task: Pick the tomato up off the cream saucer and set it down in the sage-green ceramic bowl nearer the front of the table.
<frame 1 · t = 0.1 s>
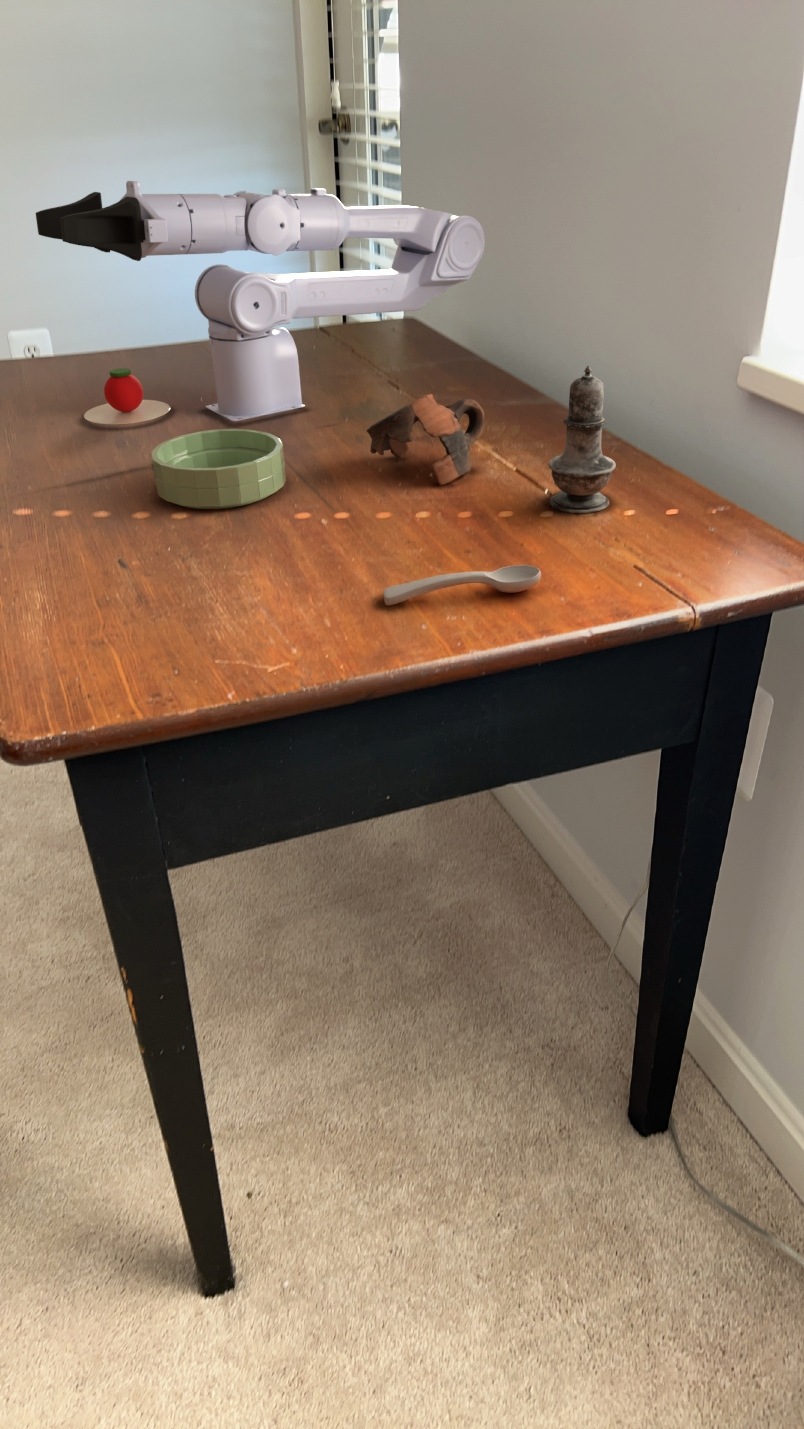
hand: (49, 226, 99), 22 cm above the table, tool horizontal, fingers open, 7 cm apart
tomato: (127, 411, 119), point 1 cm above the table, touching saucer
spoon: (462, 597, 76), on the table
brown irregular piece: (431, 470, 100), on the table
saucer: (128, 416, 119), on the table
bowl: (222, 489, 97), on the table
salt shaker: (579, 504, 91), on the table
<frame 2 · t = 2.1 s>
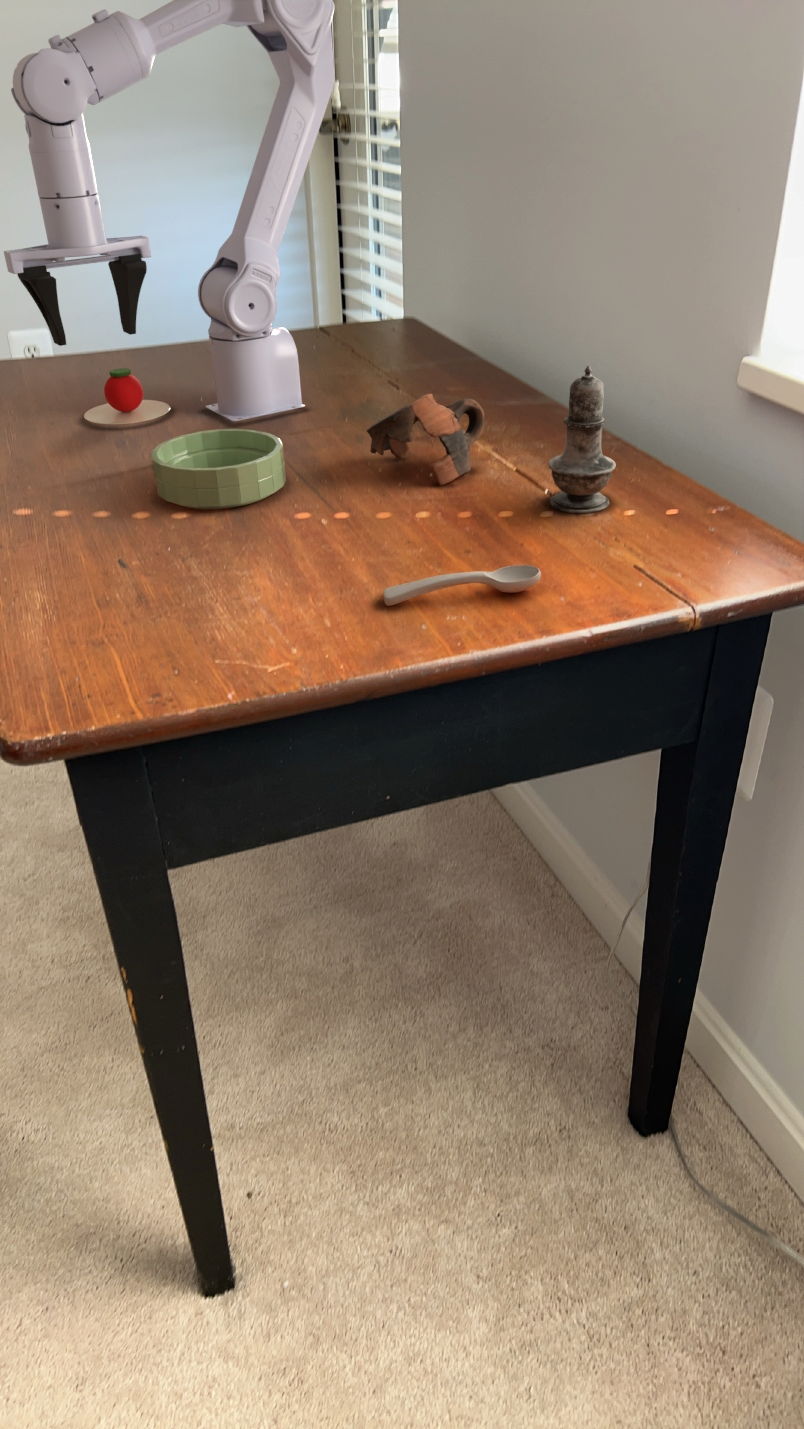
hand: (95, 338, 108), 10 cm above the table, tool pointing down, fingers open, 7 cm apart
nothing on the table moved.
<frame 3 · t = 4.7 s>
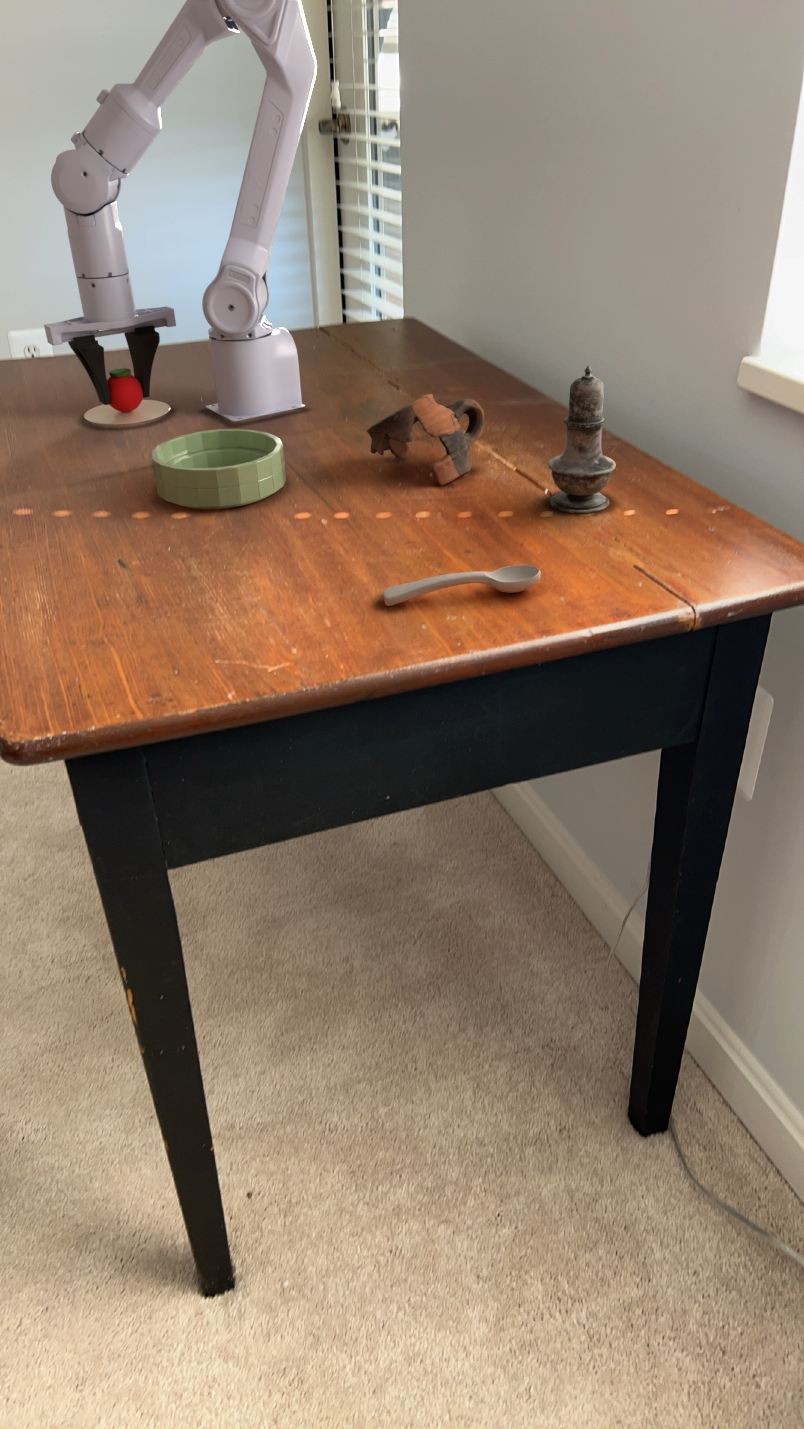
hand: (125, 399, 118), 2 cm above the table, tool pointing down, fingers closed on tomato, 4 cm apart
tomato: (127, 411, 119), point 1 cm above the table, touching gripper, saucer
everything else where it was.
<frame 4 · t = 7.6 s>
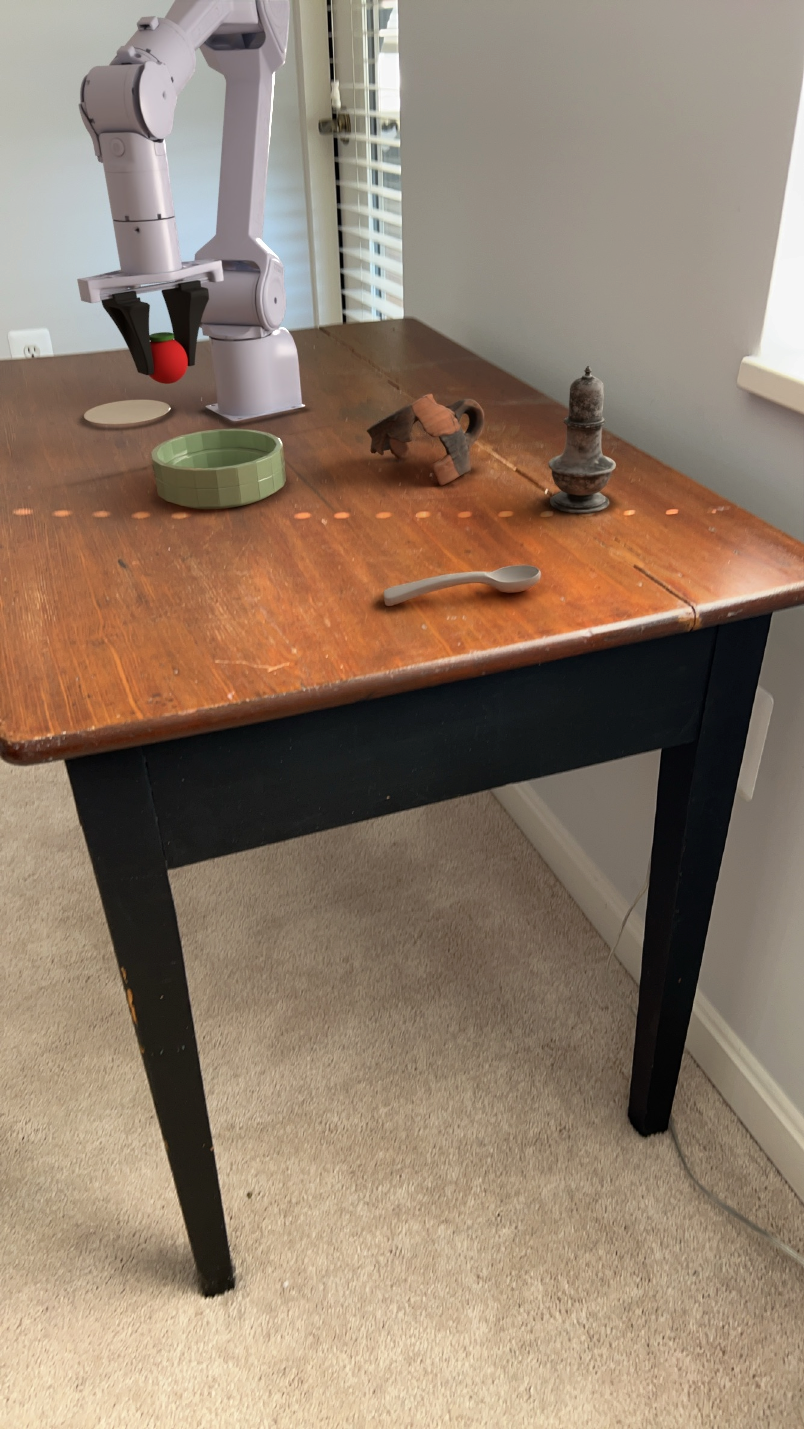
hand: (166, 368, 101), 9 cm above the table, tool pointing down, fingers closed on tomato, 4 cm apart
tomato: (168, 382, 102), point 8 cm above the table, touching gripper
everything else where it was.
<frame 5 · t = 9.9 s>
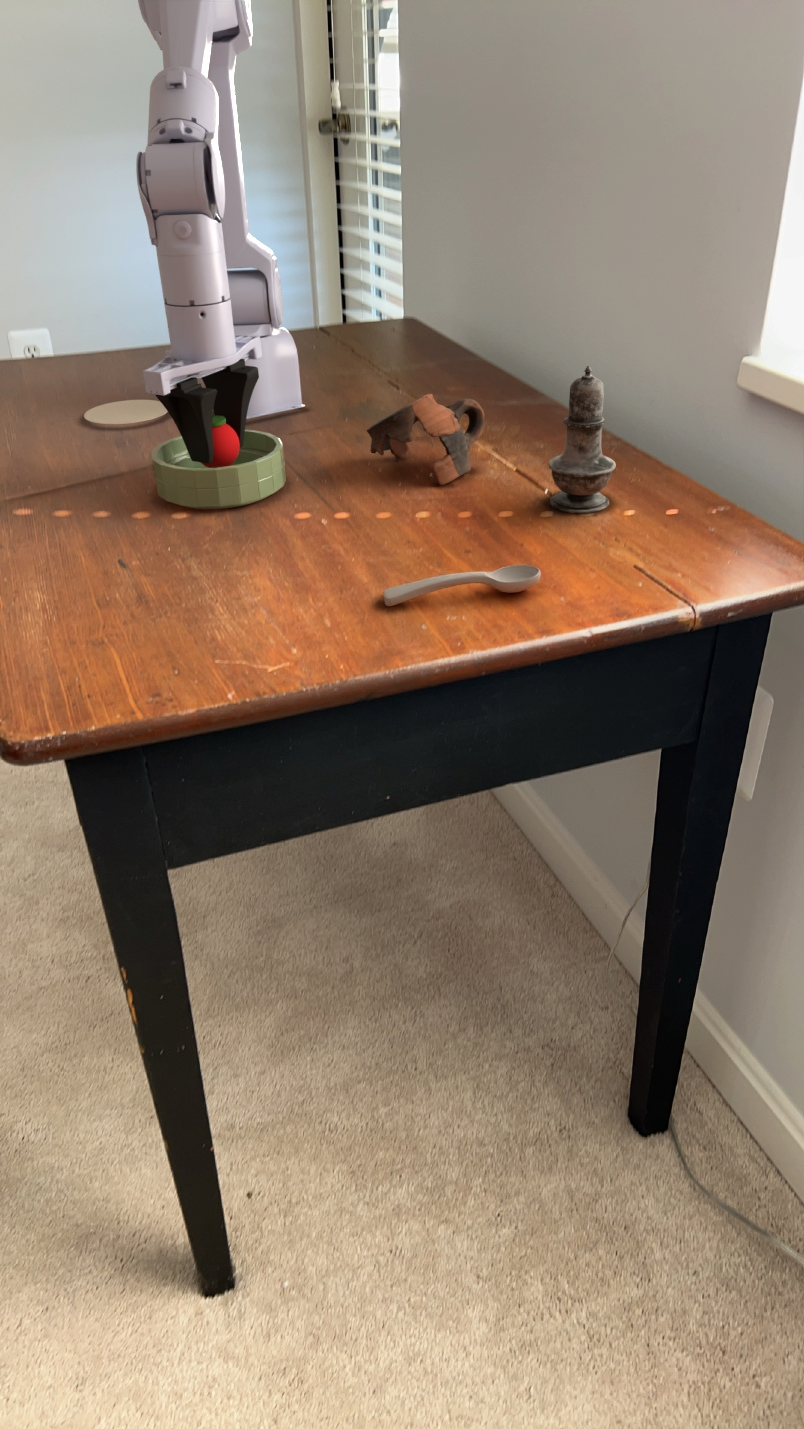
hand: (217, 453, 95), 3 cm above the table, tool pointing down, fingers closed on tomato, 4 cm apart
tomato: (219, 467, 96), point 2 cm above the table, touching gripper
everything else where it was.
when the fingers open (2 cm above the table, at t = 10.8 s): tomato stays where it is and tips over, resting on bowl.
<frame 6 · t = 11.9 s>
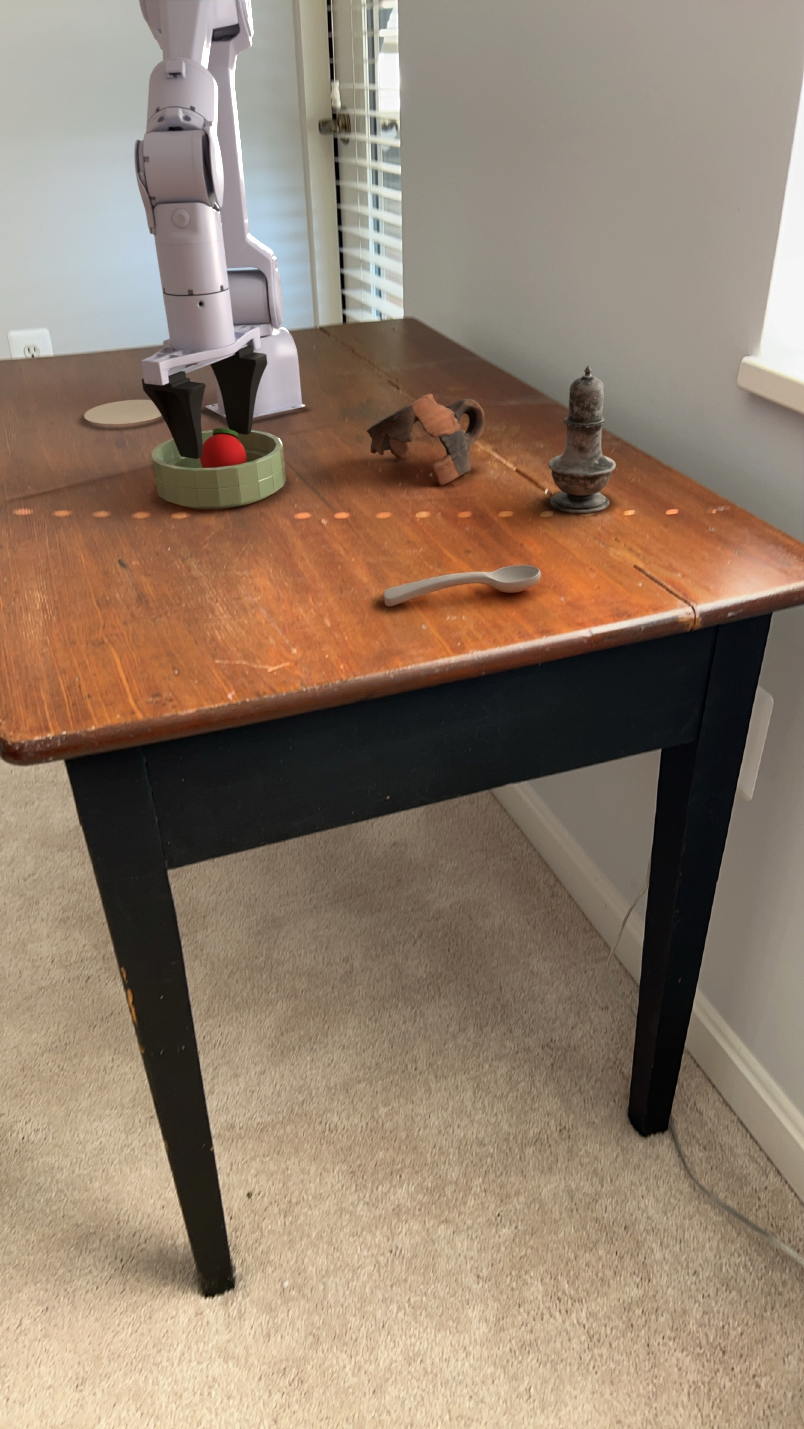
hand: (216, 444, 95), 4 cm above the table, tool pointing down, fingers open, 7 cm apart
tomato: (220, 480, 97), point 1 cm above the table, tilted 34°, touching bowl
everything else where it was.
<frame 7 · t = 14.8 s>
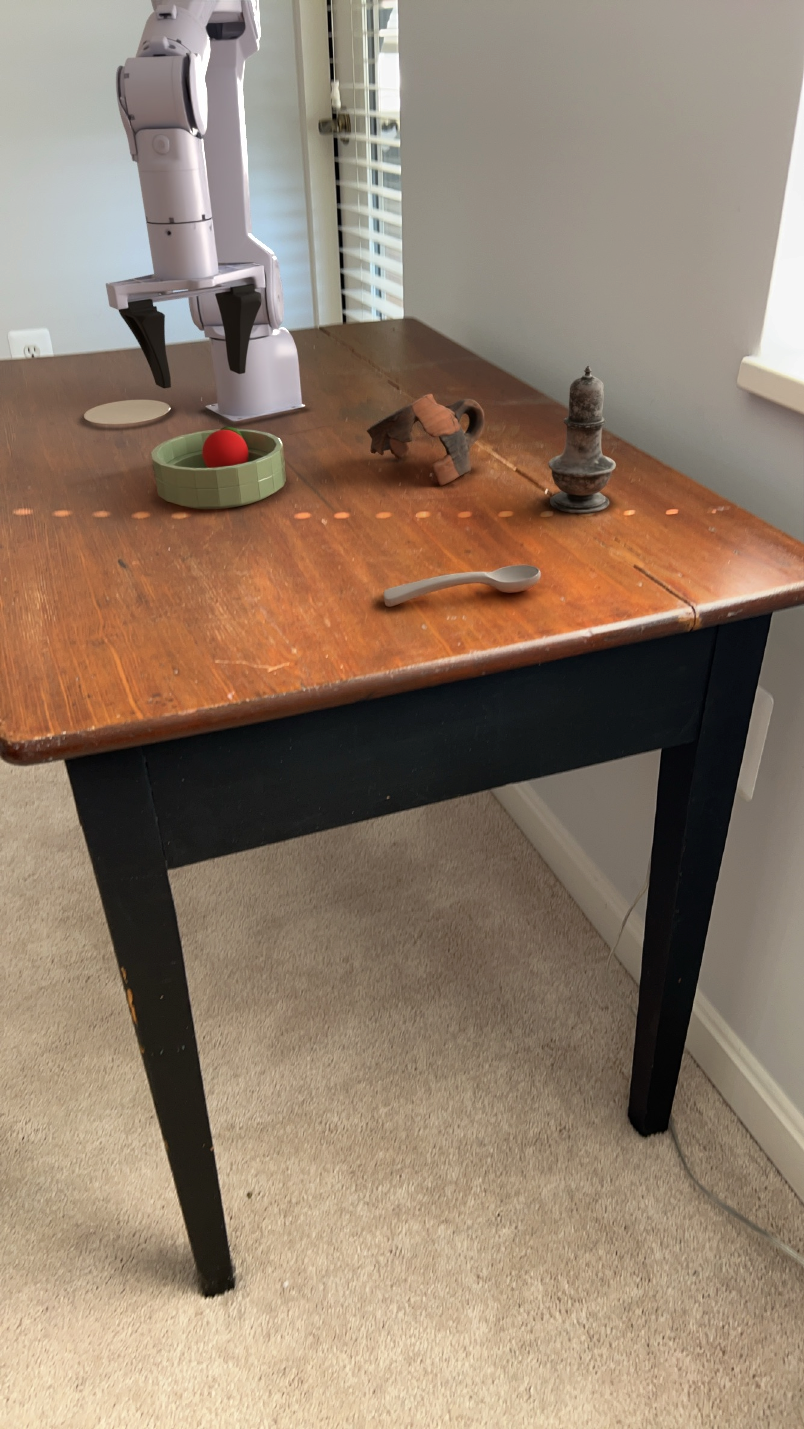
hand: (201, 378, 95), 9 cm above the table, tool pointing down, fingers open, 7 cm apart
tomato: (220, 468, 97), point 2 cm above the table, tilted 67°, touching bowl
everything else where it was.
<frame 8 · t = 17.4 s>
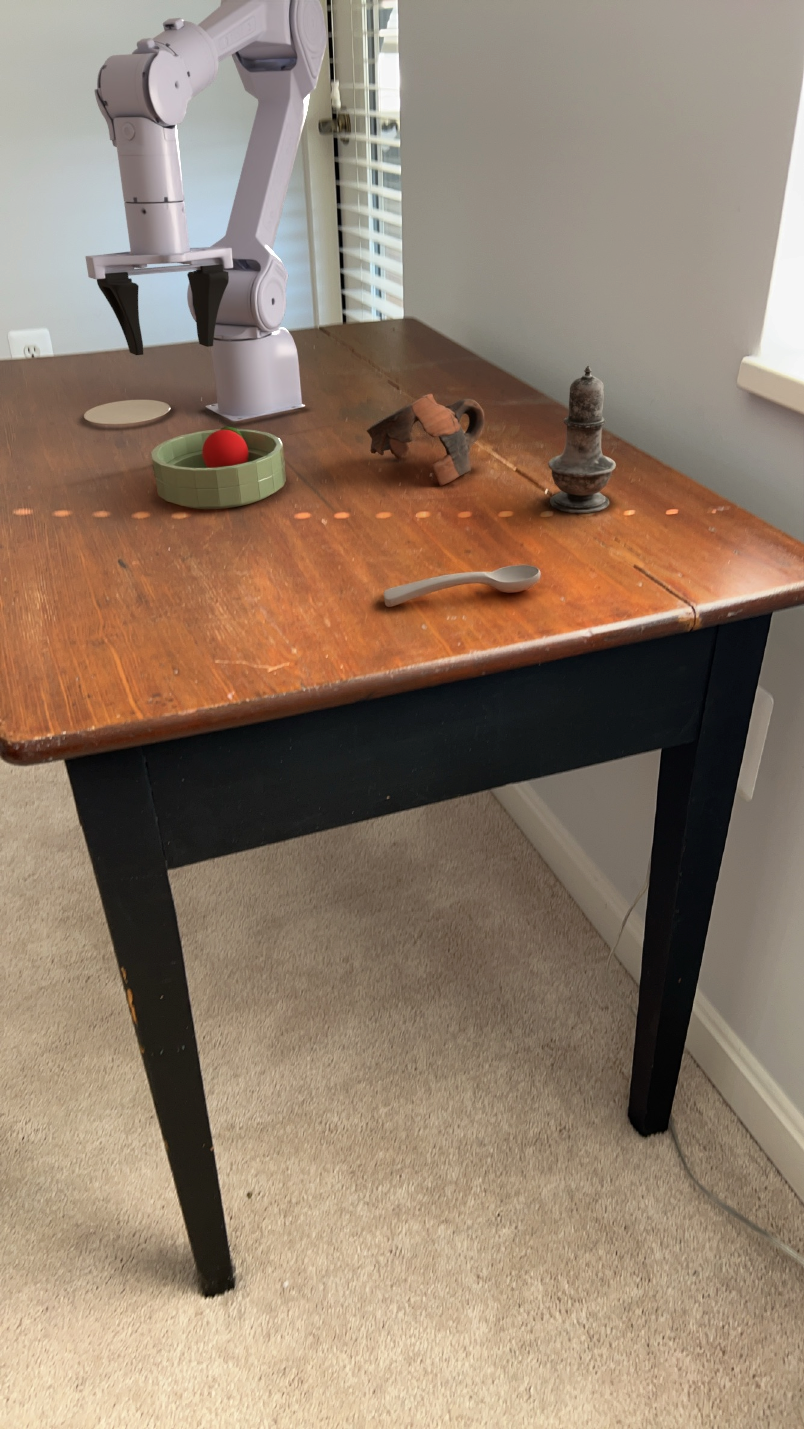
hand: (172, 349, 104), 10 cm above the table, tool pointing down, fingers open, 7 cm apart
nothing on the table moved.
at the end: tomato inside the target area in the bowl (0.5 cm from its centre), point 1.8 cm above the bowl's base; the gripper is holding nothing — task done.
